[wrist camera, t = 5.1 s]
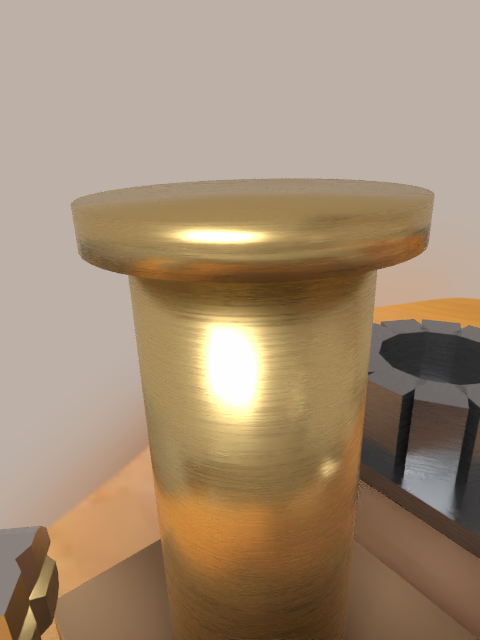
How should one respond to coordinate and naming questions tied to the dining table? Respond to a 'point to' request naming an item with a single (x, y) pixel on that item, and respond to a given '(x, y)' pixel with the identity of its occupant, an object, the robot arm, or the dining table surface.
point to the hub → (426, 423)
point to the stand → (155, 621)
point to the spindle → (255, 382)
